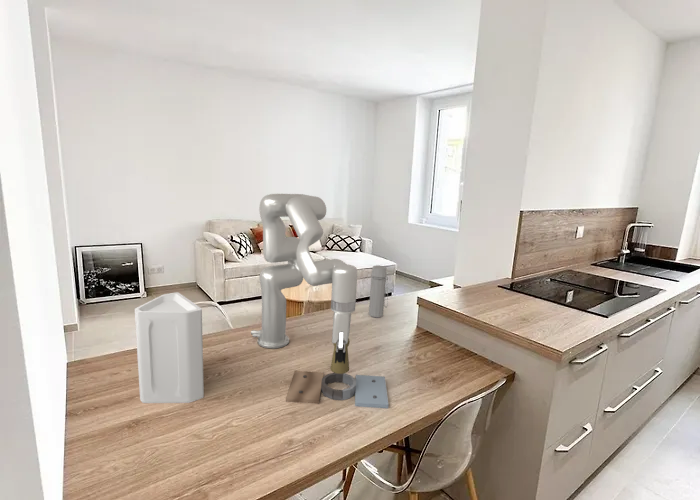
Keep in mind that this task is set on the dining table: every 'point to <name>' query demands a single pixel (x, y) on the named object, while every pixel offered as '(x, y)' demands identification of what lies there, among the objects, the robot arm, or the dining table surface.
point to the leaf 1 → (313, 387)
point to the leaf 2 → (366, 390)
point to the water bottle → (377, 291)
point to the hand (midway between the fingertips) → (340, 359)
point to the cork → (340, 366)
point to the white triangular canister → (169, 350)
